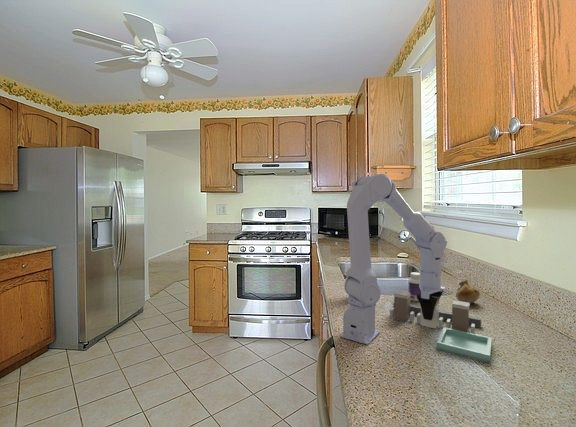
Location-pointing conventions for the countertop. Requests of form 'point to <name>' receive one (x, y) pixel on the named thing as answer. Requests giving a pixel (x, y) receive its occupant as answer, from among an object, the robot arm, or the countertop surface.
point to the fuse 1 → (402, 306)
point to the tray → (465, 344)
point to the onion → (467, 292)
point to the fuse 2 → (460, 316)
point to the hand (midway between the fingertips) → (429, 316)
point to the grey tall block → (435, 319)
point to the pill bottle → (414, 285)
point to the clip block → (440, 317)
